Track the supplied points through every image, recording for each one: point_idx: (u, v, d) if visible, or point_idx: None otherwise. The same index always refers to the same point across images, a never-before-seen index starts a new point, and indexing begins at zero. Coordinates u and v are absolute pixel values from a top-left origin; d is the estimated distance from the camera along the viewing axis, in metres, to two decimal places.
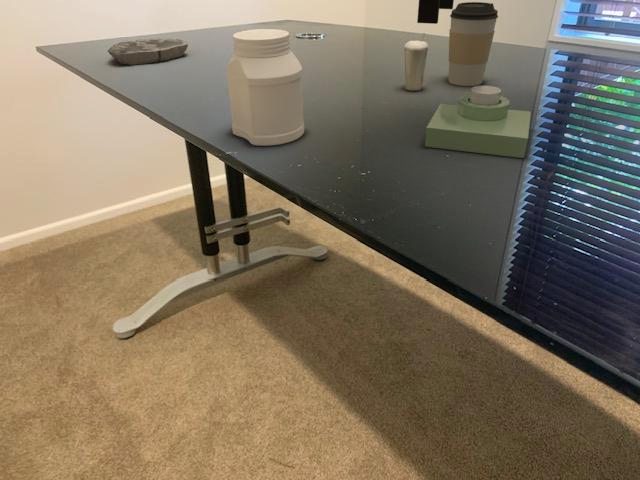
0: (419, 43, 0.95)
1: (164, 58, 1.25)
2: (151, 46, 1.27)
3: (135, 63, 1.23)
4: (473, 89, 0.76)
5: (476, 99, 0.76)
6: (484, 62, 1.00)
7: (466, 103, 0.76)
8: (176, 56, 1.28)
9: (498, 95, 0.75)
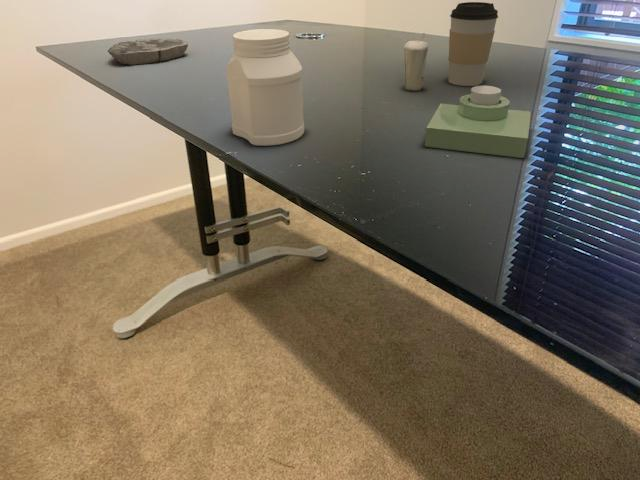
0: (419, 43, 0.95)
1: (164, 58, 1.25)
2: (151, 46, 1.27)
3: (135, 63, 1.23)
4: (473, 89, 0.76)
5: (476, 99, 0.76)
6: (484, 62, 1.00)
7: (466, 103, 0.76)
8: (176, 56, 1.28)
9: (498, 95, 0.75)
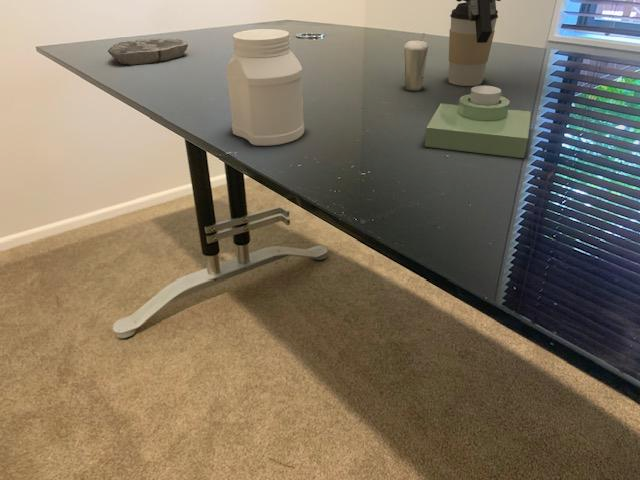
0: (419, 43, 0.95)
1: (164, 58, 1.25)
2: (151, 46, 1.27)
3: (135, 63, 1.23)
4: (473, 89, 0.76)
5: (476, 99, 0.76)
6: (484, 62, 1.00)
7: (466, 103, 0.76)
8: (176, 56, 1.28)
9: (498, 95, 0.75)
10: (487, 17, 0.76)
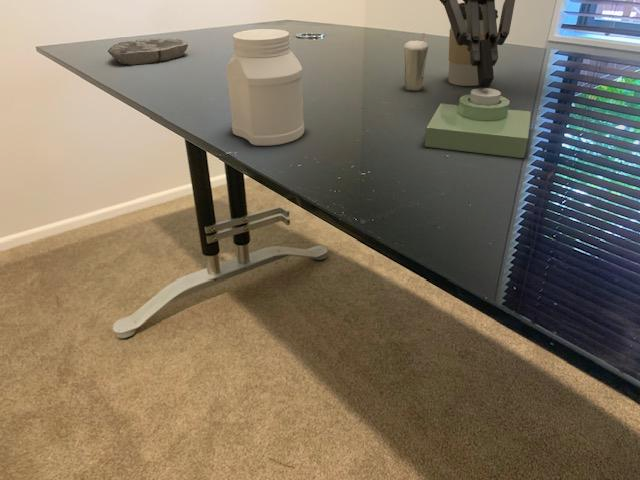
0: (419, 43, 0.95)
1: (164, 58, 1.25)
2: (151, 46, 1.27)
3: (135, 63, 1.23)
4: (473, 91, 0.77)
5: (475, 101, 0.76)
6: None
7: (466, 103, 0.76)
8: (176, 56, 1.28)
9: (498, 98, 0.75)
10: (489, 63, 0.75)
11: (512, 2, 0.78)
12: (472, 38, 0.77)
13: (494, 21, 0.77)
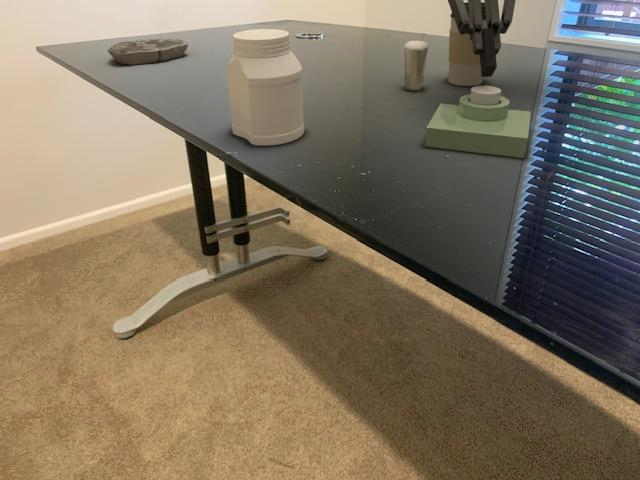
0: (419, 43, 0.95)
1: (164, 58, 1.25)
2: (151, 46, 1.27)
3: (135, 63, 1.23)
4: (473, 89, 0.76)
5: (476, 99, 0.76)
6: None
7: (466, 103, 0.76)
8: (176, 56, 1.28)
9: (498, 95, 0.75)
10: (492, 52, 0.74)
11: None
12: (474, 27, 0.76)
13: (496, 9, 0.76)
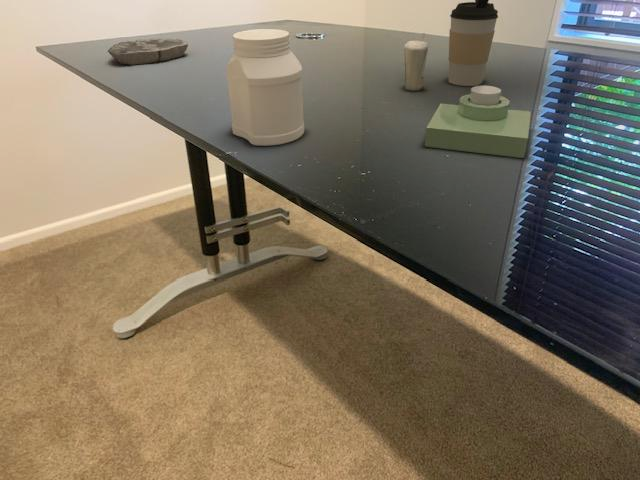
0: (419, 43, 0.95)
1: (164, 58, 1.25)
2: (151, 46, 1.27)
3: (135, 63, 1.23)
4: (473, 89, 0.76)
5: (476, 99, 0.76)
6: (484, 62, 1.00)
7: (466, 103, 0.76)
8: (176, 56, 1.28)
9: (498, 95, 0.75)
10: None
11: None
12: None
13: None
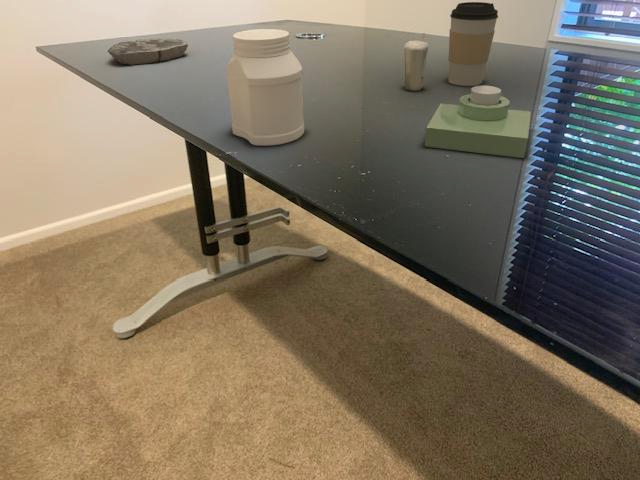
0: (419, 43, 0.95)
1: (164, 58, 1.25)
2: (151, 46, 1.27)
3: (135, 63, 1.23)
4: (473, 89, 0.76)
5: (476, 99, 0.76)
6: (484, 62, 1.00)
7: (466, 103, 0.76)
8: (176, 56, 1.28)
9: (498, 95, 0.75)
10: None
11: None
12: None
13: None
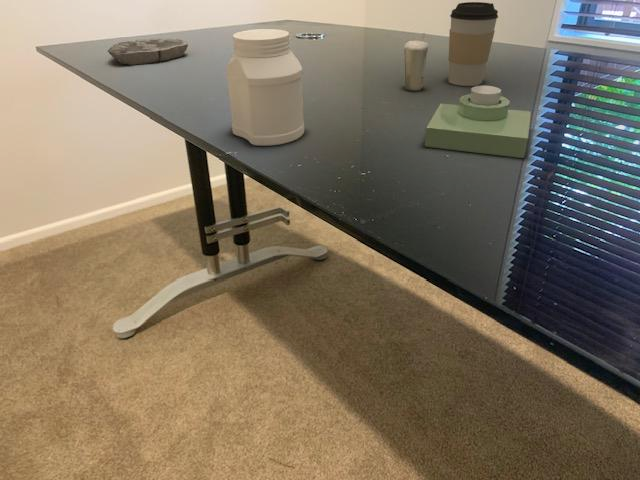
0: (419, 43, 0.95)
1: (164, 58, 1.25)
2: (151, 46, 1.27)
3: (135, 63, 1.23)
4: (473, 89, 0.76)
5: (476, 99, 0.76)
6: (484, 62, 1.00)
7: (466, 103, 0.76)
8: (176, 56, 1.28)
9: (498, 95, 0.75)
10: None
11: None
12: None
13: None
